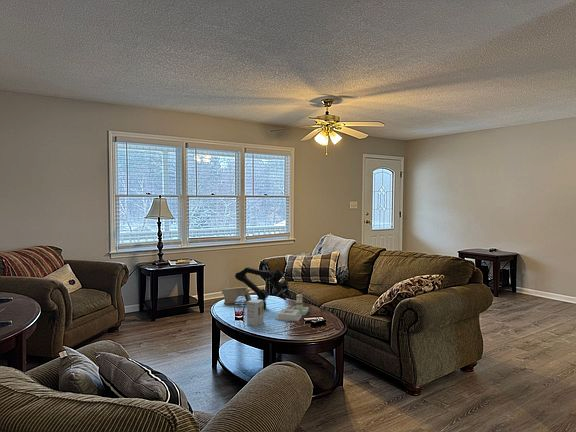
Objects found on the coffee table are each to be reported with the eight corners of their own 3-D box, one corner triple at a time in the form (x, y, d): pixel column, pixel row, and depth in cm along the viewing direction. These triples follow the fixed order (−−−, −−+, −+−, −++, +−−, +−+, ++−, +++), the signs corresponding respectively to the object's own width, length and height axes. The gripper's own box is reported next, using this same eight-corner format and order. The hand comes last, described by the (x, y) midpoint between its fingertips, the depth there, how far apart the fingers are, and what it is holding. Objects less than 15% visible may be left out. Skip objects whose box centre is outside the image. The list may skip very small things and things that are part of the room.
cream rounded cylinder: (297, 312, 310) (297, 296, 309) (295, 310, 314) (295, 294, 314) (303, 311, 311) (303, 295, 310) (301, 310, 315) (301, 294, 315)
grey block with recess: (274, 319, 295) (274, 313, 295) (279, 314, 308) (279, 308, 308) (298, 321, 290) (298, 315, 290) (302, 315, 304) (302, 310, 304)
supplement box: (257, 326, 280) (257, 303, 279) (246, 324, 284) (246, 301, 283) (264, 322, 289) (263, 299, 288) (252, 321, 292) (252, 298, 291)
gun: (252, 303, 339) (250, 286, 338) (251, 304, 336) (249, 287, 335) (224, 305, 342) (222, 288, 341) (223, 306, 338) (221, 289, 338)
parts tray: (290, 314, 308) (290, 310, 308) (294, 309, 320) (293, 306, 320) (305, 315, 305) (305, 311, 305) (308, 310, 317) (308, 307, 317)
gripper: (277, 279, 309) (290, 294, 305) (286, 275, 326) (299, 289, 322) (268, 288, 312) (281, 303, 308) (277, 283, 329) (290, 298, 326)
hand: (288, 298), depth 316 cm, fingers open, 9 cm apart
